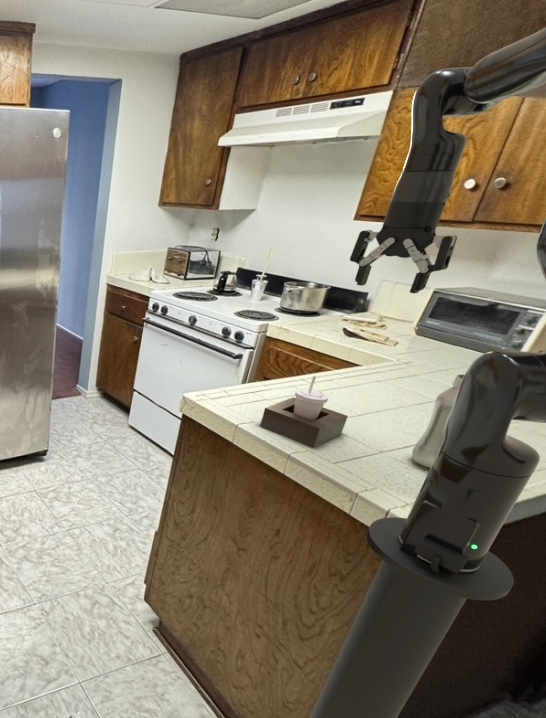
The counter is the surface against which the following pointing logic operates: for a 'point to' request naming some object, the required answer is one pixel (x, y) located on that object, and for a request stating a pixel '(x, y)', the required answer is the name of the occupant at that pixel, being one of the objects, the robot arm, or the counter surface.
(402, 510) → the counter surface
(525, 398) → the robot arm
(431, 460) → the plastic bottle
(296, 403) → the smoothie
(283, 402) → the holder
